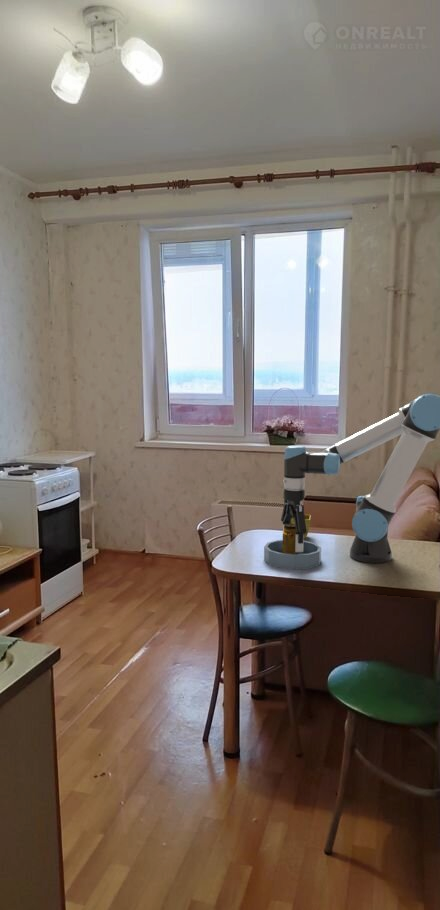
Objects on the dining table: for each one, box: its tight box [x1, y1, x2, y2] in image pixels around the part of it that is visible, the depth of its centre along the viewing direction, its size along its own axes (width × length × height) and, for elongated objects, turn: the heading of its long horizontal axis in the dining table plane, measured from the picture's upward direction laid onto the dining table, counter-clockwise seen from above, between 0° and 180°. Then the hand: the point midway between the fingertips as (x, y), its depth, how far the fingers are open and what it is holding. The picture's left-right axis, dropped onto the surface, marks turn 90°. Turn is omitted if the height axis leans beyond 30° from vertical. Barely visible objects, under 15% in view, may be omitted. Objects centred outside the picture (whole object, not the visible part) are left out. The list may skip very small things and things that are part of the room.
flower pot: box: [291, 514, 312, 540], centre depth 244 cm, size 9×9×9 cm
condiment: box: [282, 524, 299, 554], centre depth 211 cm, size 7×8×12 cm
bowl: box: [263, 539, 322, 570], centre depth 212 cm, size 20×20×5 cm
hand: (292, 546), depth 212 cm, fingers open, 13 cm apart
